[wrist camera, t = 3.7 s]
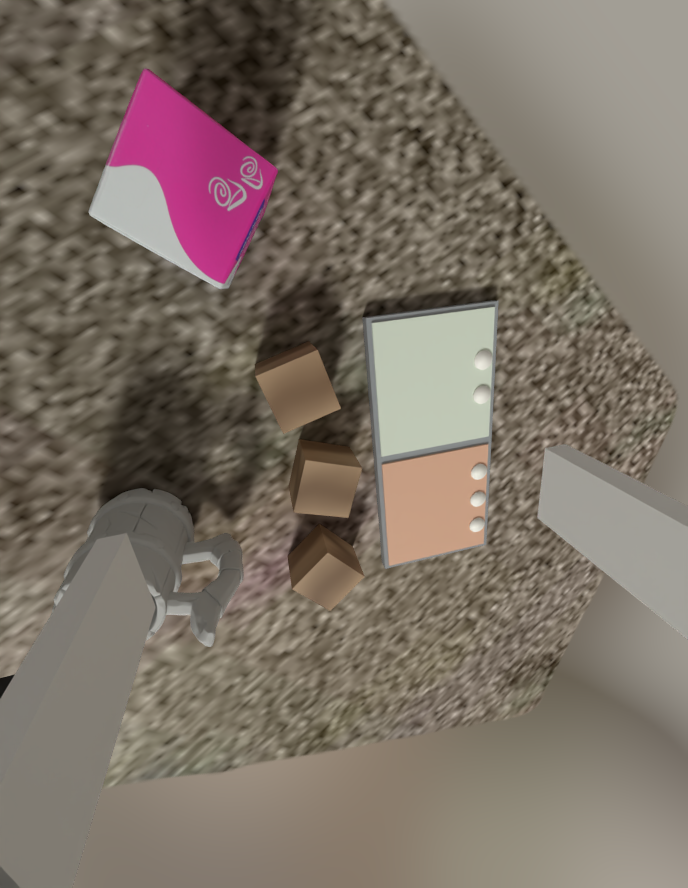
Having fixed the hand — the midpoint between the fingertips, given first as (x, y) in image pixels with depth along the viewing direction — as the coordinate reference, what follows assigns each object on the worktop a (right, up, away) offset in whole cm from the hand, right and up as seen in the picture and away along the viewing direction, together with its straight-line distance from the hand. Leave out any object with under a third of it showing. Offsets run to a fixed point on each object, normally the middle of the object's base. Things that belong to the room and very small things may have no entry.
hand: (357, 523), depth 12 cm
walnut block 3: (-3, -8, +26) cm, 27 cm away
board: (+8, +2, +24) cm, 25 cm away
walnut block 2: (-3, +1, +22) cm, 22 cm away
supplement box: (-9, +17, +14) cm, 24 cm away
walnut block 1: (-4, +8, +19) cm, 21 cm away
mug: (-15, -4, +21) cm, 26 cm away
